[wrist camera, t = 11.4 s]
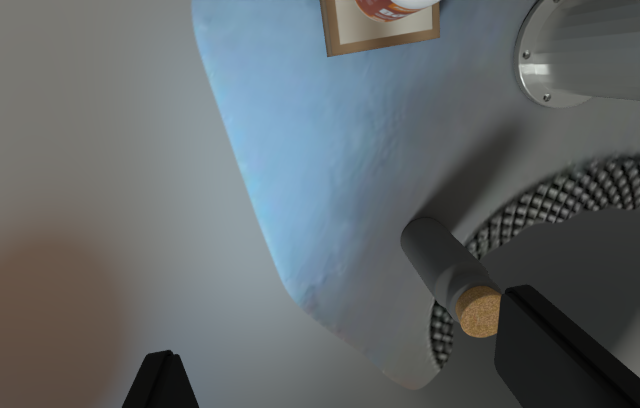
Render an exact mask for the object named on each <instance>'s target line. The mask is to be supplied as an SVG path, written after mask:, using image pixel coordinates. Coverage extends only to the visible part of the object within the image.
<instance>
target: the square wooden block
mask: <svg viewBox="0 0 640 408" xmlns="http://www.w3.org/2000/svg"><path fill="white" fill-rule="evenodd" d="M320 6H321V14H322V21H323V28H324V36H325V43H326V50H327V57H331V56H337V55H343V54H348V53H354V52H360V51H366V50H372V49H378V48H384V47H390V46H395V45H401V44H407V43H413V42H419V41H425V40H430V39H435V38H440V21H439V2H437V3H435V4H433V5H431V6H429V7H427V8H425V9H422V10H420V11H418V12H416V13H413V14H410V15H408V16H406V17H403V18H401V19H398V20H396V21H392V22H378V21H375V20H372V19H370V18H369V17H367V16H366V15H365V14H364V13H363V12H362V11H361V10H360V9H359V8H358V6H357V4H356V3H355V1H354V0H320Z"/></svg>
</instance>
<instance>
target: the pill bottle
mask: <svg viewBox="0 0 640 408" xmlns="http://www.w3.org/2000/svg"><path fill="white" fill-rule="evenodd" d="M354 1H355V3H356V4H357V6H358V8H359V9H360V10H361V11H362V12H363V13H364V14H365V15H366V16H367V17H369V18H370V19H372V20H375V21H378V22H392V21H396V20H398V19H401V18H403V17H406V16H408V15H410V14H413V13H416V12H418V11H420V10H422V9H425V8H427V7H429V6H431V5H433V4H435V3H437V2H439V1H440V0H354Z"/></svg>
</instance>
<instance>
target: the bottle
mask: <svg viewBox="0 0 640 408" xmlns="http://www.w3.org/2000/svg"><path fill="white" fill-rule="evenodd" d="M401 247H402V249H403V251H404V252H405V254H406V256H407V257H408V259H409V260H410V262H411V263H412V265H413V266H414V268H415V269H416V271H417V272H418V274H419V275H420V277H421V278H422V280H423V281H424V283H425V284H426V286H427V287H428V289H429V290H430V292H431V293H432V295H433V296H434V298H435V299H436V300H437V302H438V303H439V304H440V305H442V306H443V307H445V308H447V310H448V312H449V314H450V315H451V316H452V318H453V319H454V320H455V321H457V322H459V323H460V324H461V327H462V329H463V330H464V331H465V332H466V333H467V334H468V335H470V336H474V337H486V336H490V335H493V334H495V333H497V328H498V318H499V308H500V298H501V295H502V293H501V290H500V288H499V287H498V285H497V284H496V283H495V282H493V281H492V280H491V279H490V278H489V274H488V271H487V270H486V268H485V267H484V266H483V265H482V264H481V263H480V262H479V261H478V260H477V259H476V258H475V257H474V256H473V255H472V254H471V253H470V252H469V251H468V250H467V249H466V248H465V247H464V246H463V245H462V244H461V243H460V242H459V241H458V240H457V239H456V238H455V237H454V236H453V235H452V234H451V233H450V232H449V231H448V230H447V229H446V228H445V227H443V226H442V225H441V224H440V223H439V222H438V221H436V220H434V219H432V218H420V219H417V220H414V221H413V222H411V223H410V224H408V225H407V227H406V228H405V229H404V231H403V233H402V235H401Z"/></svg>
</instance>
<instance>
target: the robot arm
mask: <svg viewBox="0 0 640 408" xmlns="http://www.w3.org/2000/svg"><path fill="white" fill-rule="evenodd" d="M514 71H515V75H516V79H517V82H518V84H519V86H520V88H521V90H522V91H523V92H524V94H525V95H526V96H527V97H528V98H529V99H531V100H532V101H533V102H535V103H537V104H539V105H542V106H545V107H551V108H567V107H573V106H576V105H579V104H581V103H584V102H586V101H588V100H589V99H591V98H593V97H603V98H614V99H625V100H636V101H640V0H539V1H538V3H537V4H536V5H535V6H534V7H533V8H532V10H531V11H530V13H529V14H528V16H527V18H526V19H525V21H524V23H523V25H522V27H521V29H520V32H519V34H518V37H517V41H516V45H515V51H514ZM496 339H497V340H496V349H495V358H494V363H495V367H496V370H497V372H498V374H499V375H500V377H501V378H502V379H503V381H504V382H505V384H506V385H507V386H508V388H509V389H510V390H511V392H512V393H513V395H514V396H515V397H516V399H517V400H518V401H519V403H520V404H521V406H522V407H523V408H640V378H639V377H638V376H637V375H636V374H634V373H633V372H632V371H631V370H630V369H628V368H627V367H626V366H625V365H624V364H623V363H621V362H620V361H619V360H618V359H617V358H615V357H614V356H613V355H612V354H611V353H610V352H608V351H607V350H606V349H605V348H604V347H602V346H601V345H600V344H599V343H598V342H596V341H595V340H594V339H593V338H592V337H591V336H590V335H588V334H587V333H586V332H585V331H584V330H582V329H581V328H580V327H579V326H578V325H577V324H575V323H574V322H573V321H572V320H571V319H569V318H568V317H567V316H566V315H565V314H564V313H562V312H561V311H560V310H559V309H558V308H557V307H555V306H554V305H553V304H552V303H551V302H550V301H548V300H547V299H546V298H545V297H544V296H542V295H541V294H540V293H539V292H538V291H536V290H535V289H534V288H533V287H531V286H530V285H521V286H515V287H510V288H507V289H506V290H505V294H502V295H501V298H500V308H499V318H498V328H497V338H496ZM122 408H199V406H198V403H197V400H196V398H195V395H194V392H193V390H192V387H191V385H190V382H189V380H188V377H187V374H186V371H185V369H184V366H183V363H182V361H181V358H180V356H179V355H178V354H175V355H174V354H173V352H172V351H171V350H166V351H161V352H155V353H150V354H148V355H146V357H145V359H144V361H143V362H142V365H141V367H140V369H139V371H138V373H137V376H136V378H135V380H134V382H133V384H132V386H131V388H130V391H129V393H128V395H127V397H126V399H125V401H124V404H123V406H122Z"/></svg>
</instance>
